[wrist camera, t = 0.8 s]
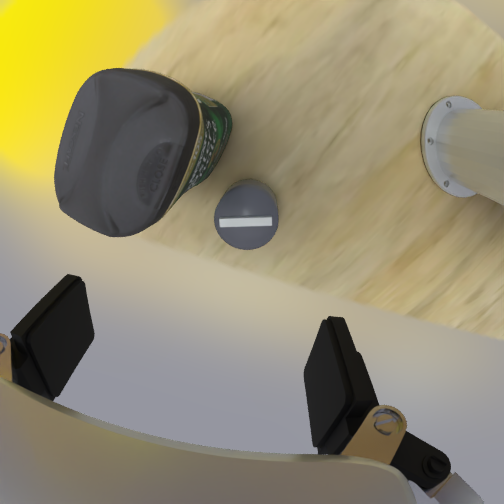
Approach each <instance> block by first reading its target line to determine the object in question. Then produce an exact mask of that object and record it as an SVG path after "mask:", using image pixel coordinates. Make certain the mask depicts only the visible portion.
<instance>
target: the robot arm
mask: <svg viewBox="0 0 504 504" xmlns="http://www.w3.org/2000/svg"><path fill="white" fill-rule="evenodd" d="M421 145H422V154H423V158H424V163H425V165H426V168H427V170H428V173H429V174H430V176H431V178H432V179H433V181H434V182H435V183H436V184H437V185H438V186H439V187H440V188H441V189H442V190H443V191H445V192H447V193H449V194H451V195H453V196H456V197H463V198H465V197H471V196H473V195H475V194H477V193H478V194H481V195H483V196H485V197H487V198H489V199H491V200H493V201H495V202H497V203H499V204H501V205H503V206H504V110H489V109H482V108H481V107H480V106H479V105H478V104H477V103H475V102H474V101H472V100H470V99H468V98H466V97H462V96H449V97H445V98H443V99H441V100H439V101H437V102H436V103H435V104H434V105H433V106H432V107H431V109H430V111H429V112H428V114H427V116H426V118H425V121H424V124H423V129H422V137H421ZM11 335H12V338H11V339H9V338H8V336H6V335H5V334H1V333H0V504H484V501H483V500H482V499H481V497H480V496H479V495H478V494H477V493H476V492H475V491H474V490H473V489H472V488H471V487H470V486H469V485H468V484H467V483H466V482H465V481H464V480H463V479H462V478H461V477H460V476H459V475H458V474H457V473H456V472H455V473H454V474H452V473H451V472H450V470H451V464H450V461H449V458H448V457H447V456H446V454H444V453H443V452H442V451H440V450H438V449H436V448H435V447H433V446H431V445H429V444H428V443H426V442H424V441H422V440H421V439H419V438H417V437H415V436H414V435H412V434H410V433H409V432H407V431H406V428H407V421H406V419H405V417H404V415H403V414H402V413H401V412H400V411H399V410H398V409H396V408H395V407H392V406H389V405H379V403H378V400H377V397H376V394H375V391H374V388H373V385H372V383H371V380H370V377H369V374H368V372H367V369H366V366H365V363H364V361H363V358H362V356H361V354H360V353H359V352H357V351H356V348H355V346H354V343H353V340H352V337H351V335H350V332H349V330H348V327H347V324H346V322H345V319H344V318H343V317H333V316H329V317H328V318H327V320H323V321H322V323H321V326H320V328H319V331H318V334H317V337H316V339H315V342H314V345H313V348H312V350H311V353H310V356H309V358H308V361H307V364H306V366H305V369H304V382H305V389H306V396H307V404H308V412H309V419H310V427H311V435H312V442H313V446H314V447H317V448H318V454H280V453H263V452H249V451H239V450H230V449H222V448H215V447H208V446H202V445H195V444H190V443H185V442H180V441H174V440H170V439H165V438H161V437H157V436H153V435H149V434H145V433H141V432H137V431H133V430H130V429H127V428H123V427H120V426H117V425H114V424H110V423H107V422H105V421H102V420H98V419H96V418H93V417H90V416H87V415H84V414H82V413H79V412H77V411H74V410H72V409H69V408H67V407H64V406H62V405H60V404H57V403H55V402H53V400H54V399H55V397H58V396H59V395H60V393H61V391H62V390H63V388H64V386H65V385H66V383H67V382H68V380H69V378H70V377H71V375H72V373H73V372H74V370H75V368H76V366H77V365H78V363H79V362H80V360H81V359H82V357H83V355H84V354H85V352H86V351H87V349H88V348H89V346H90V344H91V343H92V341H93V339H94V329H93V324H92V319H91V315H90V310H89V304H88V299H87V294H86V287H85V283H84V282H83V281H82V279H81V277H79V276H75V275H70V274H67V275H66V276H65V277H64V278H63V279H62V280H61V281H60V282H59V283H58V284H57V285H56V286H54V287H53V288H52V289H51V290H50V291H49V292H48V293H47V294H46V295H45V296H44V297H43V298H42V299H41V300H40V301H39V302H38V303H37V304H36V305H35V306H34V307H33V308H32V309H31V310H30V311H29V313H27V315H26V316H25V317H24V318H23V319H22V320H21V321H20V322H19V323H18V324H17V325H16V326H15V327H14V329H13V330H12V331H11ZM321 454H328V455H321Z"/></svg>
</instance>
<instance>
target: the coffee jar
mask: <svg viewBox="0 0 504 504" xmlns="http://www.w3.org/2000/svg"><path fill="white" fill-rule="evenodd" d="M231 128H232V119H231V115H230V113H229V111H228V110H227V109H226V107H224V106H223V105H222V104H220V103H219V102H217V101H215V100H213V99H211V98H209V97H207V96H205V95H202V94H199V93H194V92H192V91H190V90H189V89H188V88H187V87H186V86H184V85H183V84H182V83H180V82H178V81H177V80H175V79H173V78H171V77H169V76H166V75H164V74H161V73H158V72H154V71H149V70H144V69H123V68H113V69H106V70H102V71H99V72H97V73H95V74H93V75H92V76H91V77H89V78H88V79H87V80H86V81H85V83H84V84H83V85H82V87H81V88H80V89H79V91H78V93H77V95H76V97H75V99H74V102H73V104H72V107H71V109H70V112H69V115H68V118H67V120H66V123H65V127H64V130H63V133H62V137H61V141H60V145H59V149H58V154H57V160H56V165H55V174H54V180H55V181H54V182H55V191H56V195H57V199H58V202H59V207H60V209H61V210H62V211H63V212H64V213H65V214H67V215H68V216H70V217H71V218H73V219H74V220H76V221H78V222H79V223H81V224H83V225H84V226H86V227H88V228H90V229H92V230H94V231H97V232H99V233H101V234H104V235H106V236H109V237H126V236H131V235H134V234H137V233H139V232H141V231H143V230H145V229H146V228H148V227H150V226H151V225H153V224H155V223H156V222H158V221H159V220H160V219H161V218H162V217H164V215H165V214H166V213H167V212H168V211H169V209H170V208H171V207H172V206H173V205H174V204H175V202H176V201H177V200H178V199H179V198H180V197H181V196H182V195H183V194H184V193H185V192H186V191H188V190H189V189H191V188H192V187H194V186H196V185H198V184H199V183H201V182H202V181H204V180H205V179H206V178H207V177H208V176H209V175H210V173H211V172H212V170H213V169H214V167H215V166H216V164H217V162H218V160H219V159H220V157H221V155H222V152H223V150H224V148H225V146H226V143H227V141H228V138H229V135H230V132H231Z"/></svg>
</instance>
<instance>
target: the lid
mask: <svg viewBox="0 0 504 504" xmlns="http://www.w3.org/2000/svg"><path fill="white" fill-rule="evenodd" d="M214 222H215V227H216V230H217V232H218V234H219V235H220V237H221V238H222V239H223V240H224V241H225V242H226V243H228V244H229V245H231V246H233V247H235V248H238V249H243V250H251V249H256V248H259V247H261V246H263V245H265V244H266V243H268V242H269V241H270V240H271V239H272V237H273V236H274V235H275V232H276V230H277V227H278V209H277V200H276V197H275V195H274V193H273V191H272V190H271V189H270V188H269V187H268V186H267V185H266V184H264V183H263V182H261V181H258V180H253V179H245V180H241V181H238V182H236V183H234V184H233V185H232V186H231V187H230V188H229V189H228V190H227V191H226V193H225V194H224V196H223V197H222V199H221V200H220V202H219V203H218V205H217V207H216V210H215V215H214Z"/></svg>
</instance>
